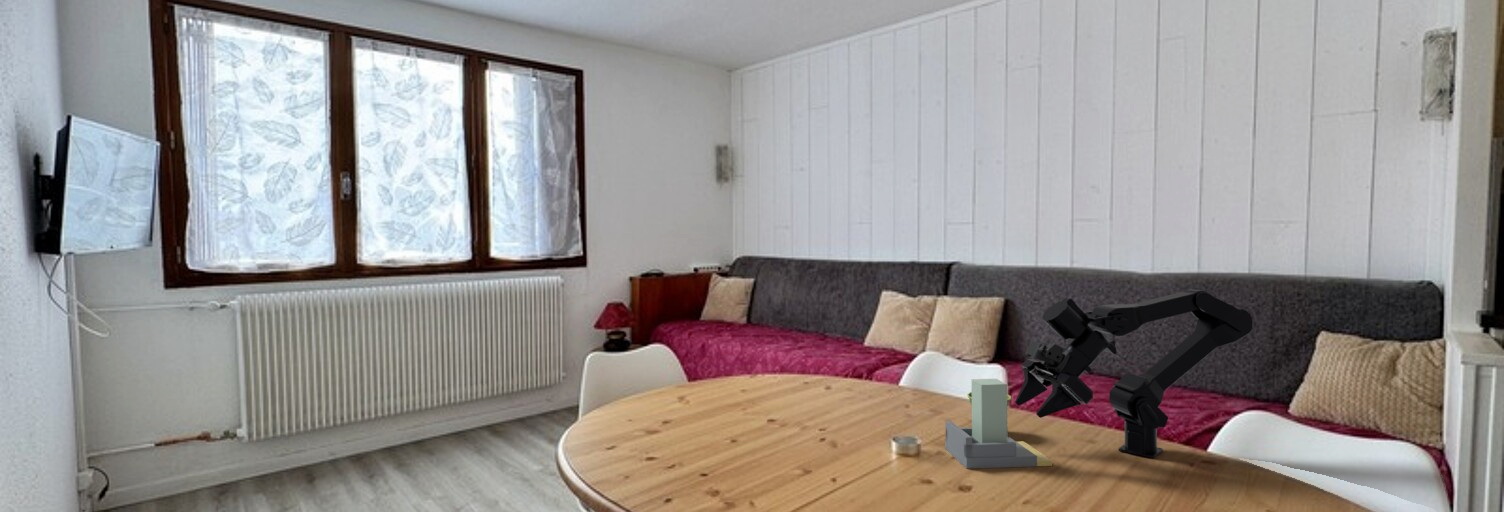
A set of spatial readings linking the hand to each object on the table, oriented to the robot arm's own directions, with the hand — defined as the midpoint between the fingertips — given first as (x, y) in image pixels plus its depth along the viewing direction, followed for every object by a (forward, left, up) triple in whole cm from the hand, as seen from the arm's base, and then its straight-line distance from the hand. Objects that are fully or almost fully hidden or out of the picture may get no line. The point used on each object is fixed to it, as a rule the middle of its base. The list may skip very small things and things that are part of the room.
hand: (1027, 409), depth 131 cm
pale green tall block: (+6, -5, -7) cm, 11 cm away
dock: (+5, -4, -9) cm, 11 cm away
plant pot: (-9, -13, -10) cm, 18 cm away
